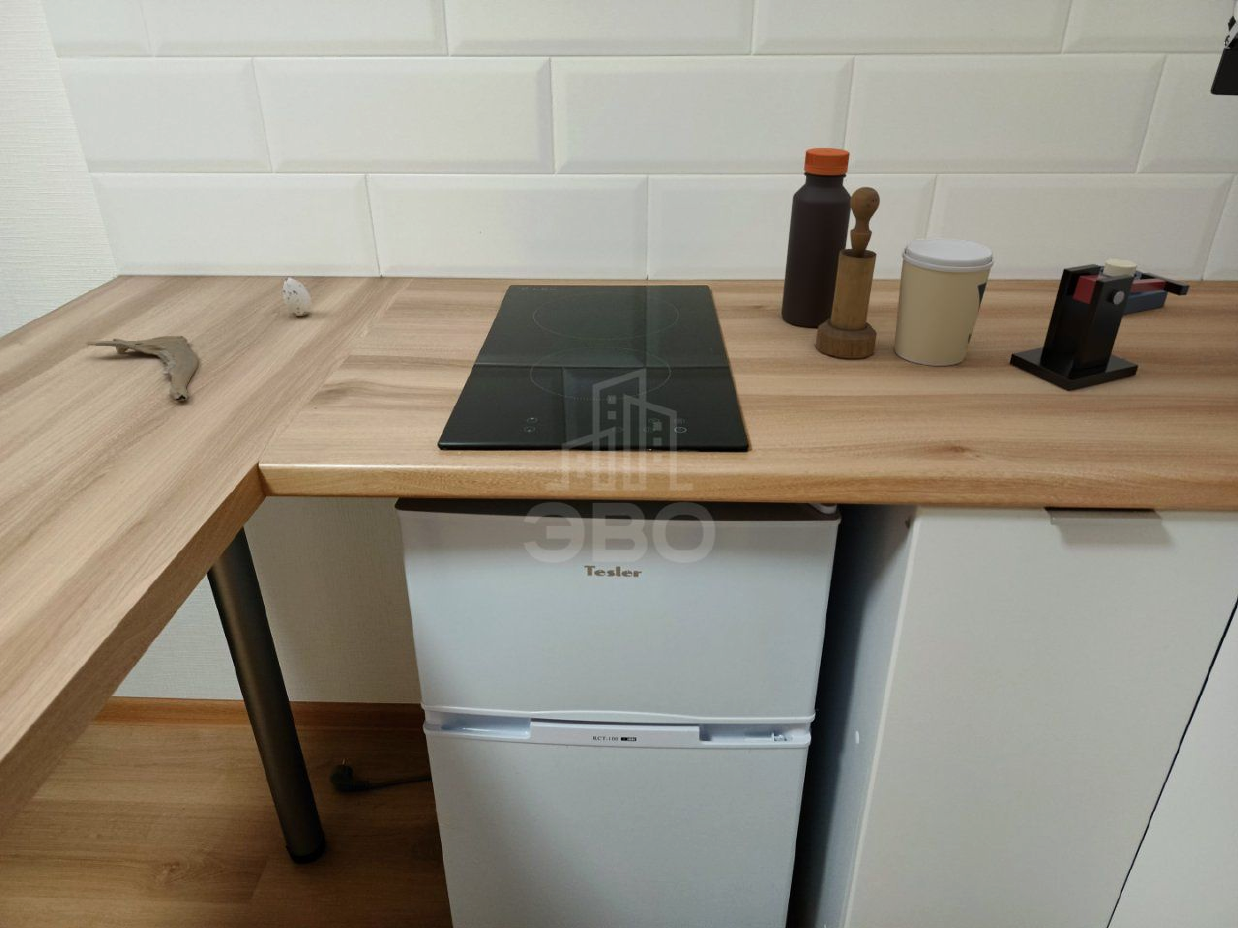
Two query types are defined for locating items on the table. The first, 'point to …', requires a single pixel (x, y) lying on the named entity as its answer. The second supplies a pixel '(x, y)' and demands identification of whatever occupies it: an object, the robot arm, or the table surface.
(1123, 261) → the button
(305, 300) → the egg
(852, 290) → the mortar and pestle
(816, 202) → the bottle
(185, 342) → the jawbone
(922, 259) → the coffee cup
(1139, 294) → the button box
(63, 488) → the table surface
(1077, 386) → the black stand
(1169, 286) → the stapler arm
